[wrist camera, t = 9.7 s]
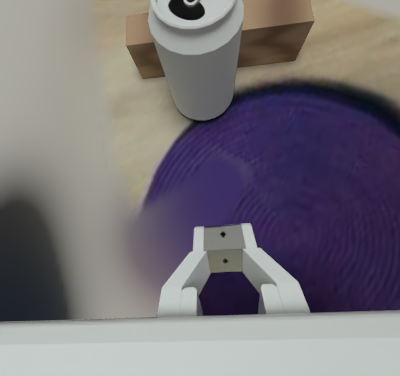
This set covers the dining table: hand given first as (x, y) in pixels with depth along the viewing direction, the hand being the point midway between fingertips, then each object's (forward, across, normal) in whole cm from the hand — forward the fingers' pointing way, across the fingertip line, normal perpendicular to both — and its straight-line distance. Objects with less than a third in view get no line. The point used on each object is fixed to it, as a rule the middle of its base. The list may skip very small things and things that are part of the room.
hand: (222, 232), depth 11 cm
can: (+20, +1, -3) cm, 20 cm away
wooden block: (+24, -1, -7) cm, 25 cm away
